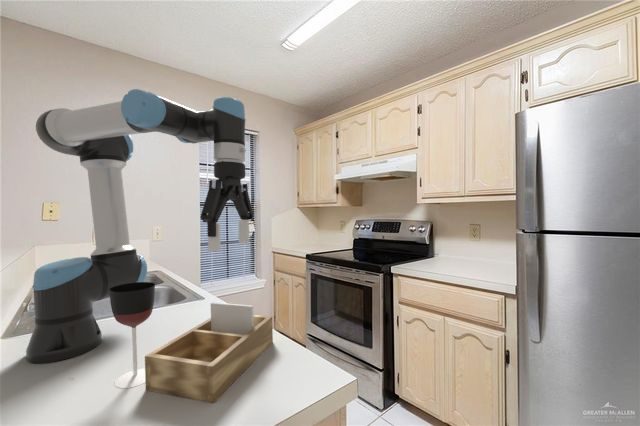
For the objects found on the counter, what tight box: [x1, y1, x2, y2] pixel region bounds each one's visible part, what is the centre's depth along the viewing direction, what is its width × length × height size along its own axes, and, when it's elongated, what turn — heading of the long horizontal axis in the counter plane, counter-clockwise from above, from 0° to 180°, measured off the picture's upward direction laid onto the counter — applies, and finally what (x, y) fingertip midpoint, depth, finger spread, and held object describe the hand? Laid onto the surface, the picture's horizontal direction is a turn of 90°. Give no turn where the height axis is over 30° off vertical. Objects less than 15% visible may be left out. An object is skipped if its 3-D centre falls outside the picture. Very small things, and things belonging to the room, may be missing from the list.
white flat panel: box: [210, 301, 255, 335], centre depth 76 cm, size 12×1×11 cm, turn 74°
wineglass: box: [109, 281, 156, 389], centre depth 64 cm, size 8×9×20 cm
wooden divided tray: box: [144, 314, 274, 404], centre depth 70 cm, size 16×26×7 cm, turn 164°
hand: (230, 246), depth 74 cm, fingers open, 13 cm apart
